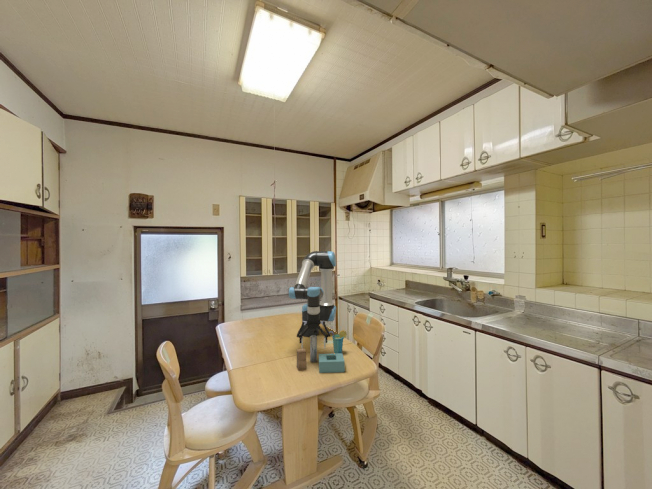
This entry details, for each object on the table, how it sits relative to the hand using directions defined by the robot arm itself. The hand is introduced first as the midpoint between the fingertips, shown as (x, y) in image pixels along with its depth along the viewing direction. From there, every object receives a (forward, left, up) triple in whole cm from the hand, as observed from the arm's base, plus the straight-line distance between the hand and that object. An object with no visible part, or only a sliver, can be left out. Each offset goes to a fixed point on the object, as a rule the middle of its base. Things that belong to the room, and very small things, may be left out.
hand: (313, 348), depth 152 cm
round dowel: (0, 0, -8) cm, 8 cm away
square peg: (+8, -7, -8) cm, 13 cm away
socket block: (+9, +10, -8) cm, 15 cm away
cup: (-10, +15, -8) cm, 20 cm away
